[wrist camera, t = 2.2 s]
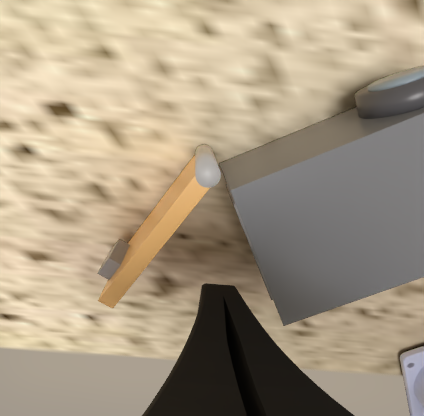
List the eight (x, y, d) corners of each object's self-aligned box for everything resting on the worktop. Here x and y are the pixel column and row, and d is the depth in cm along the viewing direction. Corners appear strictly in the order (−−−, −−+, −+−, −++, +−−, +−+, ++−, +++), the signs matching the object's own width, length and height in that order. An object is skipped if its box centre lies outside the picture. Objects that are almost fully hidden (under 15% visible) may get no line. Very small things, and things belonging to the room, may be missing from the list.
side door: (134, 257, 15) (114, 311, 12) (112, 245, 15) (84, 295, 11) (216, 152, 14) (226, 173, 10) (194, 134, 13) (194, 148, 9)
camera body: (441, 201, 16) (546, 245, 11) (259, 269, 16) (285, 335, 12) (430, 52, 13) (568, 25, 8) (209, 144, 14) (218, 168, 9)
